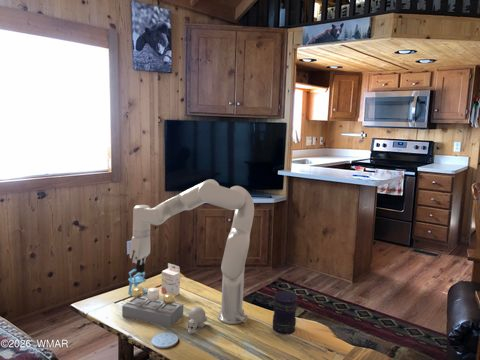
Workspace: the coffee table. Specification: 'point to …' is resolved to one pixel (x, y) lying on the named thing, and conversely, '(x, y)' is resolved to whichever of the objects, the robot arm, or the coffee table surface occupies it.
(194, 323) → the round bodied animal figurine
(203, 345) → the coffee table surface
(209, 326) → the coffee table surface
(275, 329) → the storage jar
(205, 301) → the coffee table surface
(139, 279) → the chair
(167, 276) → the ink cartridge box
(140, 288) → the brass knob far
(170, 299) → the brass knob near
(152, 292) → the white knob middle
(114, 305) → the coffee table surface
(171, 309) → the grey compartment tray
